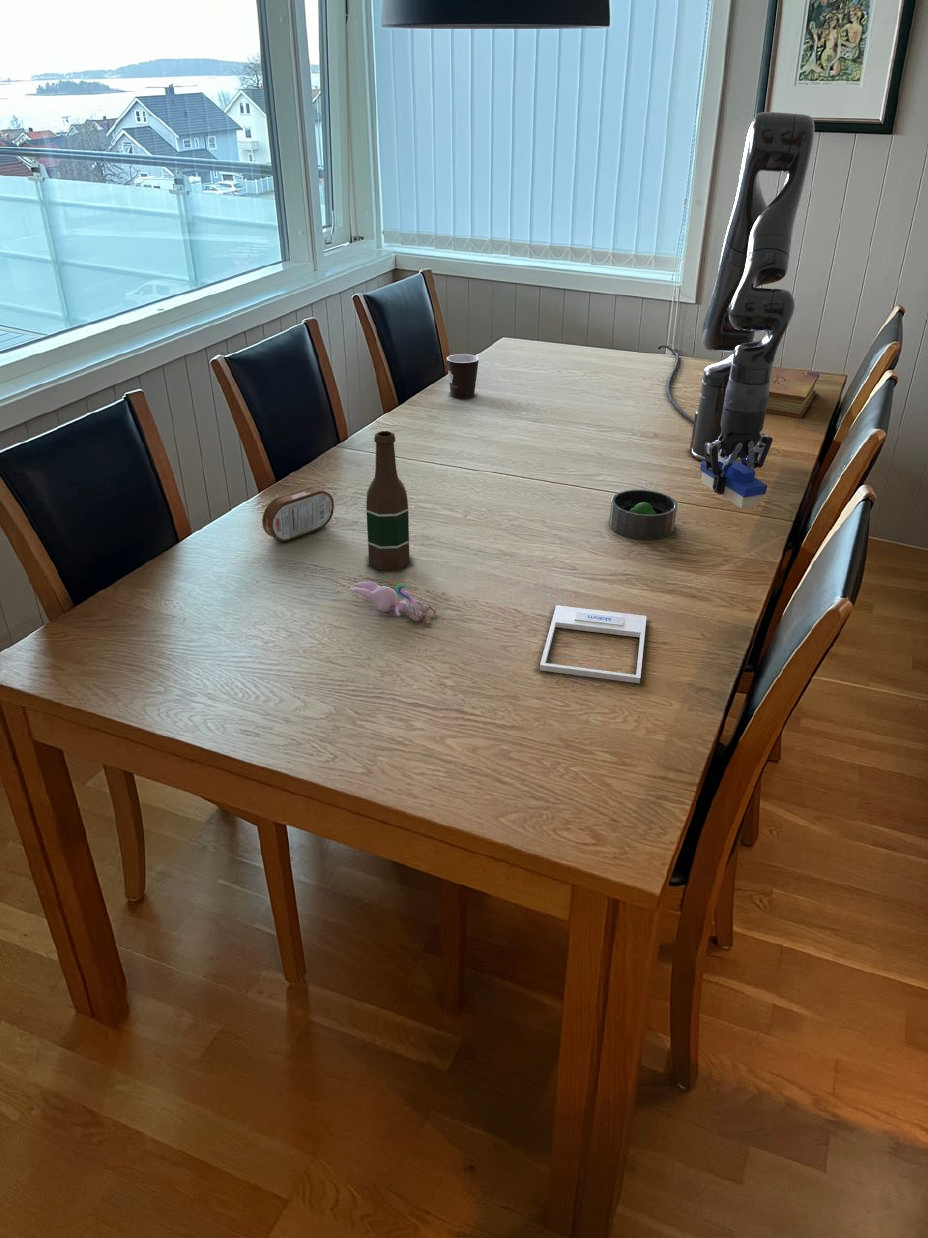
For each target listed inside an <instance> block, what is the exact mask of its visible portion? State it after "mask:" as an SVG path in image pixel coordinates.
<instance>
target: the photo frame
mask: <svg viewBox="0 0 928 1238" xmlns="http://www.w3.org/2000/svg"><path fill="white" fill-rule="evenodd" d="M646 627H647V615H642V614H633V613H625V612H617V611H608V610H599V609H591V608H582V607H575V606H565V605H558V604H555V608H554V612H553V615H552V619H551V623H550V626H549V630H548V634H547V637H546V642H545V645H544V649H543V652H542V655H541V660H540V664H539V671H542V672H552V673H558V674H566V675H572V676H573V675H574V676H580V677H581V676H582V677H588V678H595V679H596V678H597V679H604V680H612V681H619V682H627V683H634V684H640V683H641V677H642V666H643V655H644V647H645V635H646ZM556 628H560V629H569V630H575V631H583V632H584V631H585V632H593V633H599V634H601V633H602V634H608V635H616V636H625V637H633V638H639V644H638V652H637V653H638V654H637V663H636V672H635V674H631V673H625V672H618V671H610V670H609V671H608V670H602V669H594V668H588V667H587V668H585V667H579V666H572V665H563V664H555V663H549V662H547V661H548V657H549V654H550V650H551V646H552V641H553V638H554V634H555V630H556Z"/></svg>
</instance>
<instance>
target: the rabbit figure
mask: <svg viewBox="0 0 928 1238" xmlns="http://www.w3.org/2000/svg"><path fill="white" fill-rule="evenodd" d="M353 586H354V587H350V588H349V591H352V592H355V593H357V594H359V595H360V596H361V597H363V598H365V599H366V600H369V601H370V602H372V604H373V605H374V607H375V608H377V609H378V610H379V611H381V612H382V613H390V612H391V611H394V612H395V614H396V616H397V617H400V616H401V614H406V615H407V616H408V617H409V618H410V620H412V621H413V622H415V623H417V622H420V621H422V619H423V618H426V622H425V624H426V625H427V626H428V625H429V624H428V623H429V622H430V617H431V616H430V615H429V614H428V612H429V611H430V610H431V611H432V613H433V615H432V617H433V618H436V616H437V608H433V606H432V605H426V604H424V603H423V602H422V601H421V600H418V598H417V596H414V597H412V596H411V594H410V593H409V592H408V591H407V590H406V589H405V588H406V585H405V584H403V583H398V584H397V585H396V587H395V590H394V589H393V588H391V587H389V586H385V585H382V586H380V585H379V584H378V583H376V582H373V581H368V580H364V581H360V582H356V583H354V585H353ZM399 597H400V598H403V600H399Z"/></svg>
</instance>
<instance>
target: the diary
mask: <svg viewBox="0 0 928 1238" xmlns="http://www.w3.org/2000/svg"><path fill="white" fill-rule="evenodd" d="M820 374H821V373H819V372H812V371H805V370H797V369H790V368H784V367H783V368H782V367H777V366H776V367H774V366H773V368H772V373H771V378H770V387H769V397H768V403H767V408H766V414H772V415H781V416H787V417H793V418H803V416H804V414H805V413H806V411H807V410H808V408H809V406H810V404H811V403H812V401H813V399H814V397H815V395H816V394H817V390H816V389H815V387H816V382H817V381H818V379H819V378H820Z"/></svg>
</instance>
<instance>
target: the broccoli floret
mask: <svg viewBox="0 0 928 1238" xmlns="http://www.w3.org/2000/svg"><path fill="white" fill-rule="evenodd" d="M628 512H632V513H637V514H645V515H656V514H657V513H656V512H655V511H654V510H653V508H652V506H651V505H650V504H648V503H645V502H642V503H639V504H637V505H636V506H635V507H634V508H631V509H630V510H629V511H628Z"/></svg>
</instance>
